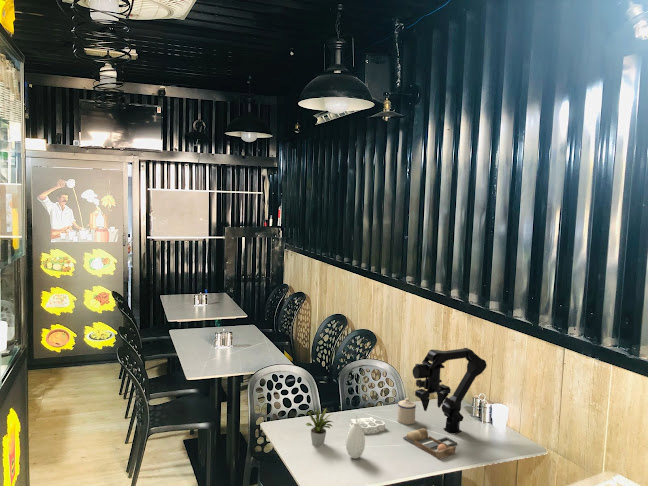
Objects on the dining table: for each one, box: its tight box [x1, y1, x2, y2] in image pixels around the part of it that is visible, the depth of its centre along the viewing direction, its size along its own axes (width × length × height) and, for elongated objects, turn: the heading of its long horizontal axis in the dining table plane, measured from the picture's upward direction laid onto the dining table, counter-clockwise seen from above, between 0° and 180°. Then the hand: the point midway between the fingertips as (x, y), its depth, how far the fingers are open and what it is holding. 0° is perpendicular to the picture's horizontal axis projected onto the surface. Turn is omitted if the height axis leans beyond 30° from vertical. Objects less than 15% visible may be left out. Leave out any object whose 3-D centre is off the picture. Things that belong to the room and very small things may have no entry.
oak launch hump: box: [406, 427, 429, 442], centre depth 238 cm, size 9×5×5 cm, turn 125°
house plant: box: [302, 407, 333, 448], centre depth 228 cm, size 14×14×16 cm
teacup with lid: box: [397, 397, 417, 425], centre depth 260 cm, size 12×9×12 cm
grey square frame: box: [437, 436, 458, 447], centre depth 236 cm, size 7×7×1 cm
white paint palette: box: [348, 416, 386, 435], centre depth 249 cm, size 3×18×15 cm
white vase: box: [345, 416, 366, 460], centre depth 218 cm, size 8×8×18 cm
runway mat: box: [402, 435, 440, 450], centre depth 235 cm, size 10×14×1 cm
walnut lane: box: [414, 435, 457, 460], centre depth 229 cm, size 11×15×3 cm
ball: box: [437, 444, 447, 451], centre depth 226 cm, size 4×4×4 cm
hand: (432, 409), depth 245 cm, fingers open, 9 cm apart
